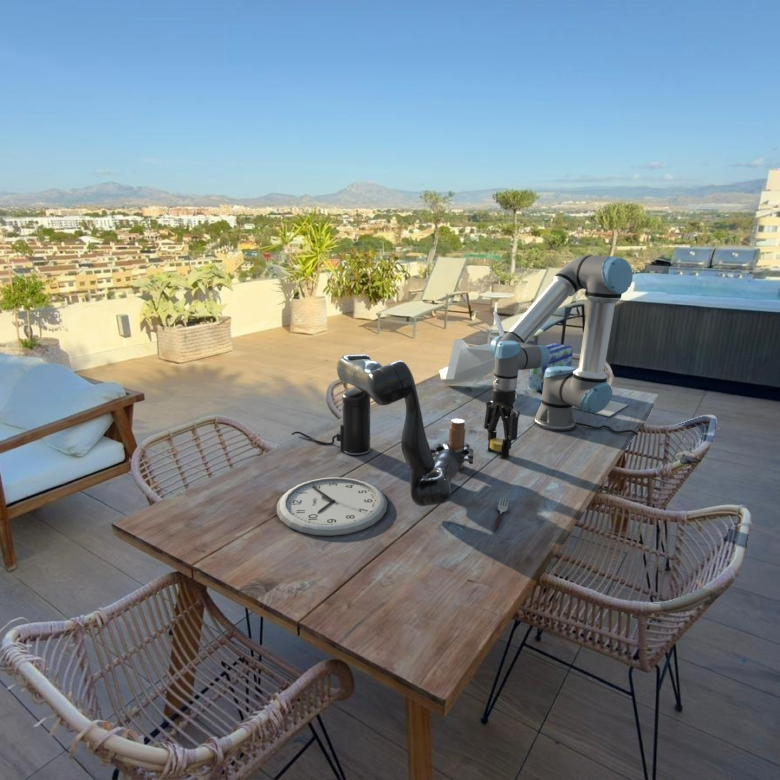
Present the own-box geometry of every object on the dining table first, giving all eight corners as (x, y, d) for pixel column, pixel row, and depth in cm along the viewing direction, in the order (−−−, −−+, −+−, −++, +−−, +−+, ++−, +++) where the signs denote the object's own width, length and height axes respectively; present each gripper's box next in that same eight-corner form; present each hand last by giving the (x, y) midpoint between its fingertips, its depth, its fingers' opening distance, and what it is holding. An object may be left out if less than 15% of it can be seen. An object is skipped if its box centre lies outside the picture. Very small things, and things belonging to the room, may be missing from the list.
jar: (465, 468, 166) (468, 422, 161) (451, 470, 164) (453, 424, 160) (459, 462, 170) (461, 417, 166) (445, 464, 169) (447, 418, 164)
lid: (486, 445, 178) (487, 438, 178) (501, 443, 180) (502, 437, 180) (495, 452, 173) (495, 445, 172) (510, 450, 175) (511, 443, 174)
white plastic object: (461, 429, 252) (437, 405, 227) (444, 352, 274) (420, 323, 250) (535, 404, 240) (518, 377, 215) (510, 326, 262) (492, 293, 237)
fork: (489, 532, 131) (490, 525, 131) (499, 502, 145) (500, 496, 145) (500, 534, 130) (500, 527, 130) (509, 504, 145) (509, 497, 144)
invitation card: (608, 416, 214) (573, 407, 224) (608, 416, 214) (573, 408, 224) (628, 404, 229) (594, 396, 238) (628, 405, 229) (594, 397, 238)
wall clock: (392, 527, 129) (268, 531, 127) (391, 533, 130) (269, 537, 127) (383, 473, 158) (282, 475, 155) (383, 478, 158) (282, 480, 156)
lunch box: (544, 395, 239) (549, 351, 233) (524, 390, 247) (528, 347, 240) (571, 384, 257) (577, 343, 251) (552, 380, 264) (556, 339, 258)
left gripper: (470, 458, 149) (481, 436, 165) (422, 450, 154) (436, 430, 169) (469, 481, 151) (479, 458, 167) (421, 473, 156) (435, 451, 171)
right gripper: (476, 382, 176) (471, 446, 183) (516, 398, 161) (509, 466, 168) (493, 380, 180) (487, 442, 187) (534, 395, 165) (526, 462, 172)
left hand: (458, 444), depth 168 cm, fingers closed on jar, 5 cm apart
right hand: (498, 453), depth 177 cm, fingers closed on lid, 6 cm apart
